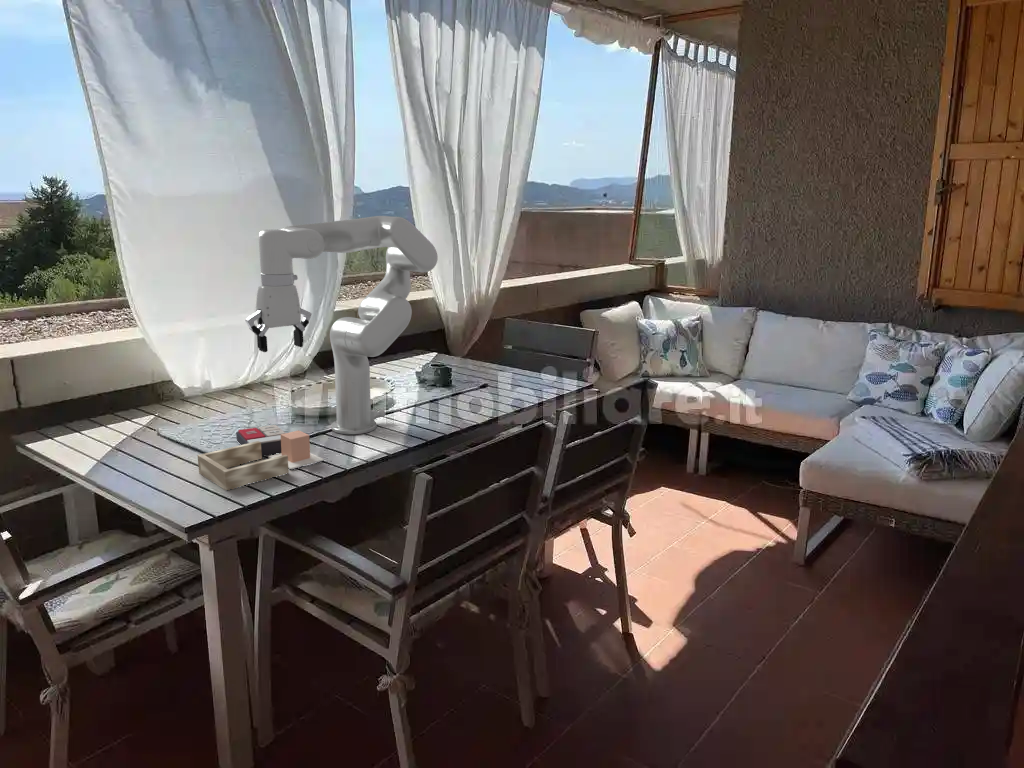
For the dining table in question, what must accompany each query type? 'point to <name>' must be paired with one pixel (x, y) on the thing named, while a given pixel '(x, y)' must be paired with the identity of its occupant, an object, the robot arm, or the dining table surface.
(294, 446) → the block
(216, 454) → the u-shaped frame
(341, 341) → the robot arm
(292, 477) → the dining table surface
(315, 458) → the mat
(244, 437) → the calculator
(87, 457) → the dining table surface
